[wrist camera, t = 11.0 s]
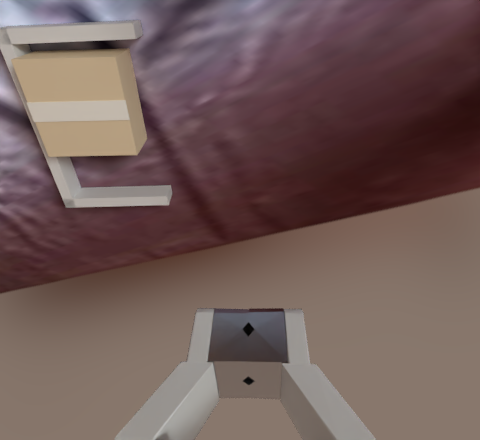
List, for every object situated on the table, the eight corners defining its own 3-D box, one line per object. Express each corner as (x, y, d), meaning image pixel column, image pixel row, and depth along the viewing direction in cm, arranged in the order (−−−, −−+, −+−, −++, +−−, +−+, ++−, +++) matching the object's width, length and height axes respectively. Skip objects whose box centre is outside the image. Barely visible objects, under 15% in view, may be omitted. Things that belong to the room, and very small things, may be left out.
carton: (130, 47, 32) (115, 56, 28) (148, 137, 37) (137, 155, 33) (36, 50, 32) (9, 59, 28) (67, 139, 37) (47, 157, 34)
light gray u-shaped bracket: (140, 20, 30) (132, 22, 28) (172, 193, 41) (168, 204, 39) (8, 25, 31) (-8, 29, 29) (74, 196, 41) (66, 207, 39)
